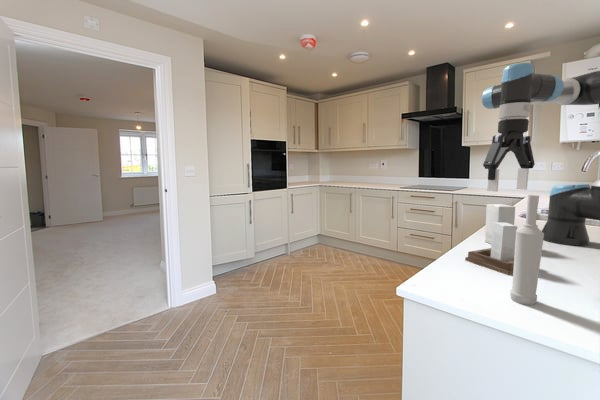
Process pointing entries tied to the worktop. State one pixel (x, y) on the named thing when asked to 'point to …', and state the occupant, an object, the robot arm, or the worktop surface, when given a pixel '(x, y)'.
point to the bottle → (527, 256)
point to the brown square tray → (490, 261)
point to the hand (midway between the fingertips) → (507, 190)
